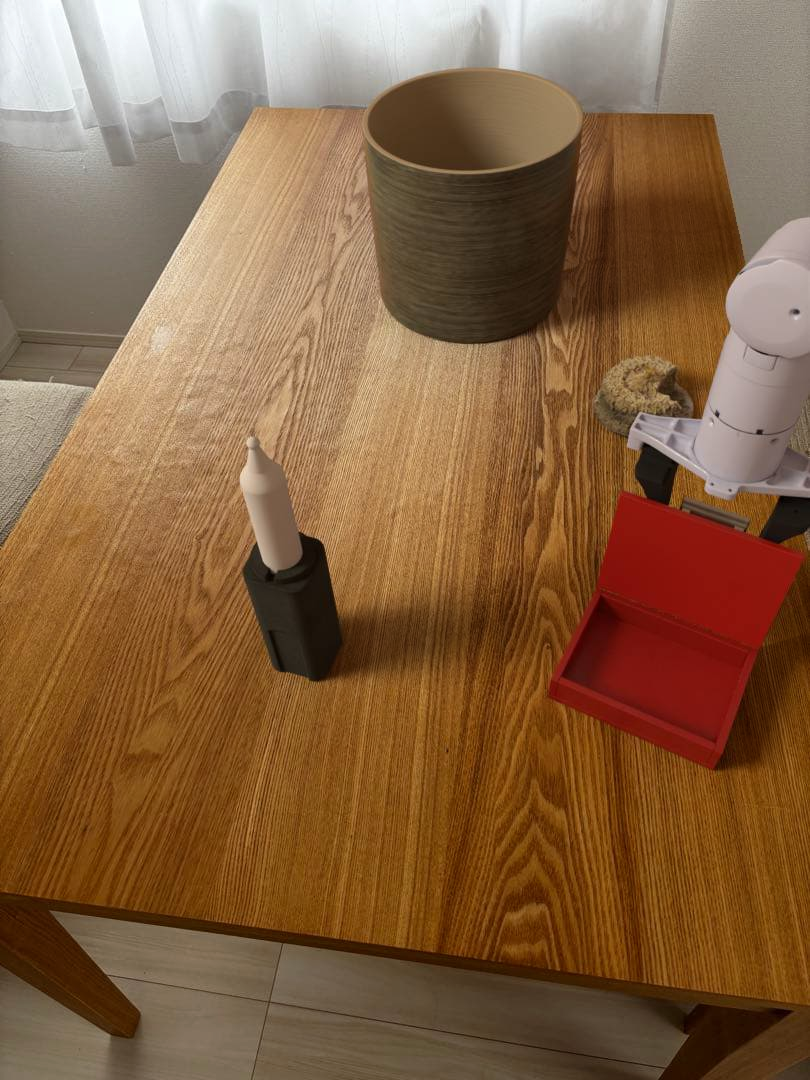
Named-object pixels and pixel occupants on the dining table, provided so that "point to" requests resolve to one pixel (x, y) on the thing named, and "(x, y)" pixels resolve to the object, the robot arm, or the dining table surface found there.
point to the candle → (287, 575)
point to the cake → (640, 393)
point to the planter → (472, 199)
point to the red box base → (654, 677)
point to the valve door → (698, 566)
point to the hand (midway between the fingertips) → (706, 535)
